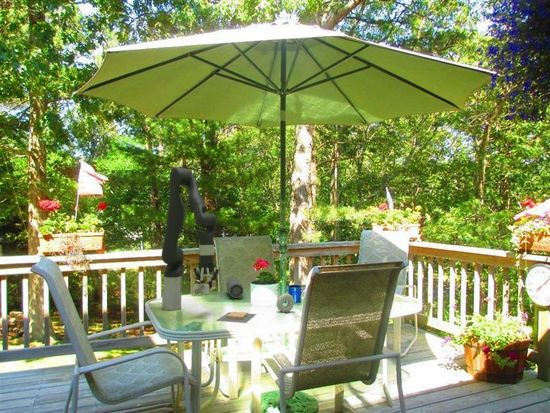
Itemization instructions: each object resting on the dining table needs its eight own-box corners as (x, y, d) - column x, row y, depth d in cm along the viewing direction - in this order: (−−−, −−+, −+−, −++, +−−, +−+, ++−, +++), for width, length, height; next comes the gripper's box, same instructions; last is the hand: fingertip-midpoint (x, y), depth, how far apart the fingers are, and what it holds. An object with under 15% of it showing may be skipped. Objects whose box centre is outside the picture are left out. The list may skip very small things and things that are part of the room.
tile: (232, 314, 235) (226, 318, 226) (232, 311, 235) (226, 315, 226) (247, 315, 233) (242, 319, 224) (247, 312, 233) (242, 316, 224)
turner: (194, 292, 227) (194, 284, 227) (206, 288, 242) (206, 280, 242) (207, 293, 225) (207, 285, 225) (219, 288, 240) (219, 280, 240)
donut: (291, 310, 247) (291, 292, 247) (295, 312, 244) (295, 293, 244) (275, 312, 242) (275, 293, 242) (278, 314, 239) (278, 294, 239)
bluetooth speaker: (225, 292, 295) (225, 277, 295) (240, 292, 297) (240, 276, 297) (228, 300, 273) (228, 283, 273) (244, 299, 274) (244, 282, 274)
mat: (215, 321, 222) (215, 320, 222) (228, 313, 240) (228, 312, 240) (245, 324, 219) (245, 322, 219) (256, 315, 236) (256, 314, 236)
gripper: (190, 254, 231) (190, 289, 231) (217, 254, 227) (217, 290, 227) (196, 252, 238) (196, 286, 238) (222, 253, 235) (222, 287, 235)
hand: (206, 288), depth 233 cm, fingers closed on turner, 3 cm apart
